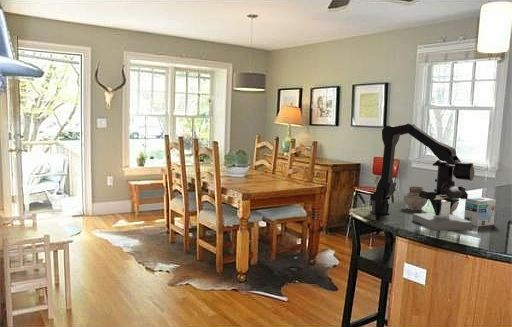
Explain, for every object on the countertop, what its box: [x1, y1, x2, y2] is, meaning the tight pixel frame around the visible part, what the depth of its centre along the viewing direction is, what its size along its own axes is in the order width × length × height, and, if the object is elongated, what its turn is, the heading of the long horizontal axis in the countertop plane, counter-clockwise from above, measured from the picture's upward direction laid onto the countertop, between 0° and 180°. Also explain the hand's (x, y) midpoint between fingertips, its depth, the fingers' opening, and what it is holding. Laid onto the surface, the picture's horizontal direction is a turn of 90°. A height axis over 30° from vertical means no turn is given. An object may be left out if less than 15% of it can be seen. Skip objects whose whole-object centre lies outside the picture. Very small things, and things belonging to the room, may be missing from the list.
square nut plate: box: [412, 212, 473, 231], centre depth 175 cm, size 16×16×3 cm
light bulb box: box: [463, 196, 497, 227], centre depth 179 cm, size 11×7×11 cm, turn 116°
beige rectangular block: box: [434, 200, 451, 220], centre depth 175 cm, size 4×4×8 cm
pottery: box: [402, 185, 460, 215], centre depth 200 cm, size 11×25×12 cm, turn 49°
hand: (441, 215), depth 175 cm, fingers closed on beige rectangular block, 4 cm apart
